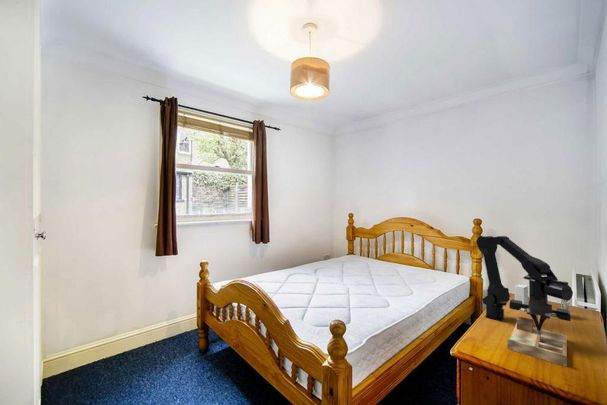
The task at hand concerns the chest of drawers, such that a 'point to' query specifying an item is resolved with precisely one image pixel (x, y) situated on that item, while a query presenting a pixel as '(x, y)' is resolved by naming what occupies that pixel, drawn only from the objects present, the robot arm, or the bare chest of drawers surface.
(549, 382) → the chest of drawers surface
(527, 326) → the walnut block
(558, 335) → the board
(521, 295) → the skincare box
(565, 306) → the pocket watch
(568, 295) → the robot arm
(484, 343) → the chest of drawers surface
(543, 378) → the chest of drawers surface
